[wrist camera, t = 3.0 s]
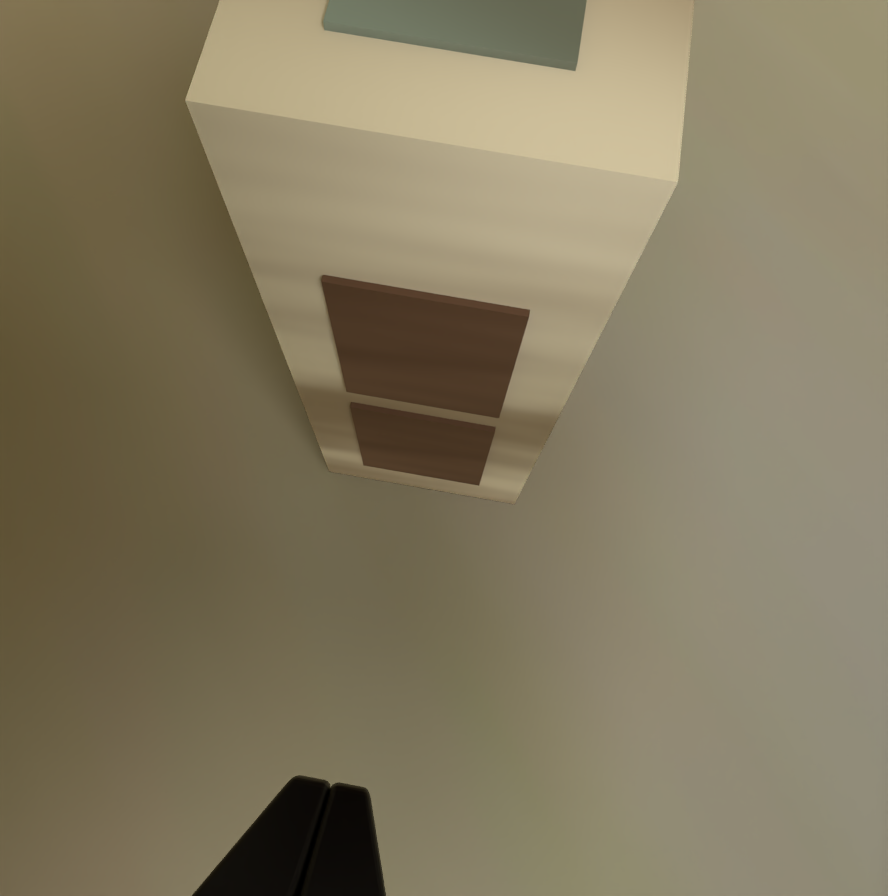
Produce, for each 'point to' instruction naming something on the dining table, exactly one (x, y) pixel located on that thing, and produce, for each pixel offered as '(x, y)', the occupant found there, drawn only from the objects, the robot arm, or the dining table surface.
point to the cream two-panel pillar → (442, 208)
